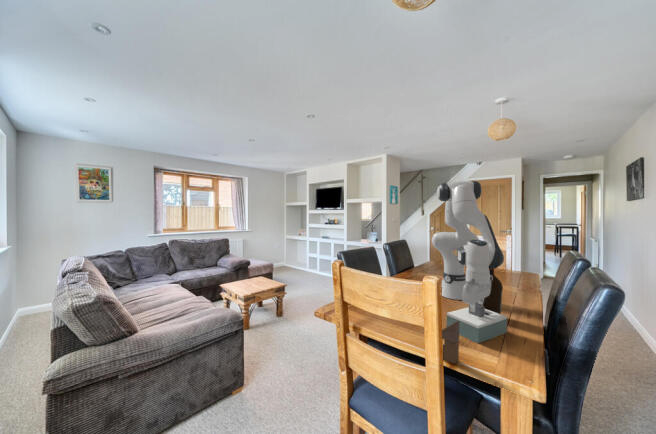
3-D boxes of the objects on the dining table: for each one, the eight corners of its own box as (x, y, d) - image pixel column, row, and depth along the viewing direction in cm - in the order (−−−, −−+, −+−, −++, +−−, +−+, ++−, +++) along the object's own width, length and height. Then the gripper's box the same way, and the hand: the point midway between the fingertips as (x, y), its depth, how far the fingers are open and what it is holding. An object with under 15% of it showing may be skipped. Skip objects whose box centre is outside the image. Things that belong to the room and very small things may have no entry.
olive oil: (480, 320, 120) (481, 267, 120) (473, 311, 131) (474, 263, 130) (505, 322, 118) (507, 269, 117) (496, 313, 128) (498, 264, 128)
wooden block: (453, 364, 85) (455, 311, 85) (424, 350, 93) (425, 302, 93) (459, 360, 87) (460, 309, 87) (429, 347, 96) (430, 300, 95)
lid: (474, 307, 120) (475, 297, 120) (506, 318, 108) (507, 307, 108) (446, 315, 111) (447, 303, 111) (478, 328, 99) (478, 315, 99)
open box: (474, 320, 120) (474, 307, 120) (506, 332, 108) (506, 318, 108) (446, 328, 111) (446, 315, 111) (478, 343, 99) (478, 328, 99)
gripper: (475, 283, 100) (474, 318, 100) (494, 275, 113) (493, 306, 113) (458, 280, 105) (458, 313, 105) (478, 273, 118) (478, 302, 118)
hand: (476, 309), depth 109 cm, fingers open, 5 cm apart
